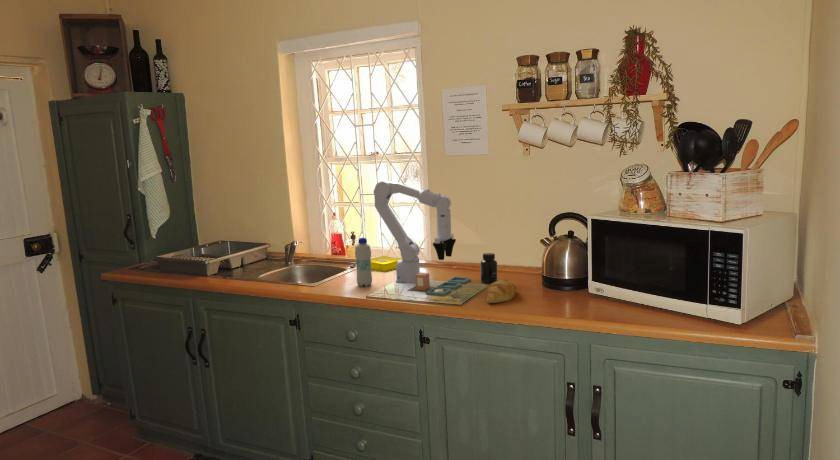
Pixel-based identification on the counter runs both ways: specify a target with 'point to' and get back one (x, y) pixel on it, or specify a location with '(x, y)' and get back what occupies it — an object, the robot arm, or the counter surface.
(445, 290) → the dish
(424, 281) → the brown rectangular block
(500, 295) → the bread loaf
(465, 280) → the dish
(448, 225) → the robot arm
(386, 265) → the yellow food container
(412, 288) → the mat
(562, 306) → the counter surface
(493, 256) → the supplement bottle
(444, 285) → the dish
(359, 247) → the bottle
